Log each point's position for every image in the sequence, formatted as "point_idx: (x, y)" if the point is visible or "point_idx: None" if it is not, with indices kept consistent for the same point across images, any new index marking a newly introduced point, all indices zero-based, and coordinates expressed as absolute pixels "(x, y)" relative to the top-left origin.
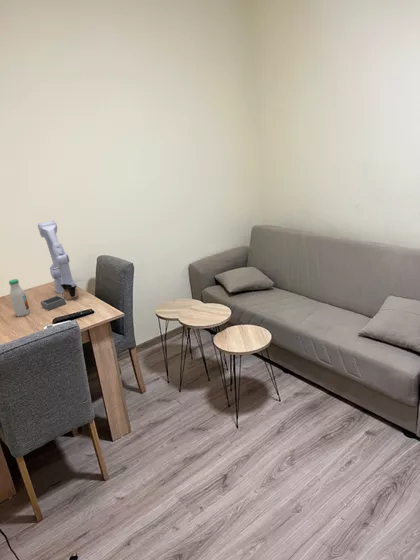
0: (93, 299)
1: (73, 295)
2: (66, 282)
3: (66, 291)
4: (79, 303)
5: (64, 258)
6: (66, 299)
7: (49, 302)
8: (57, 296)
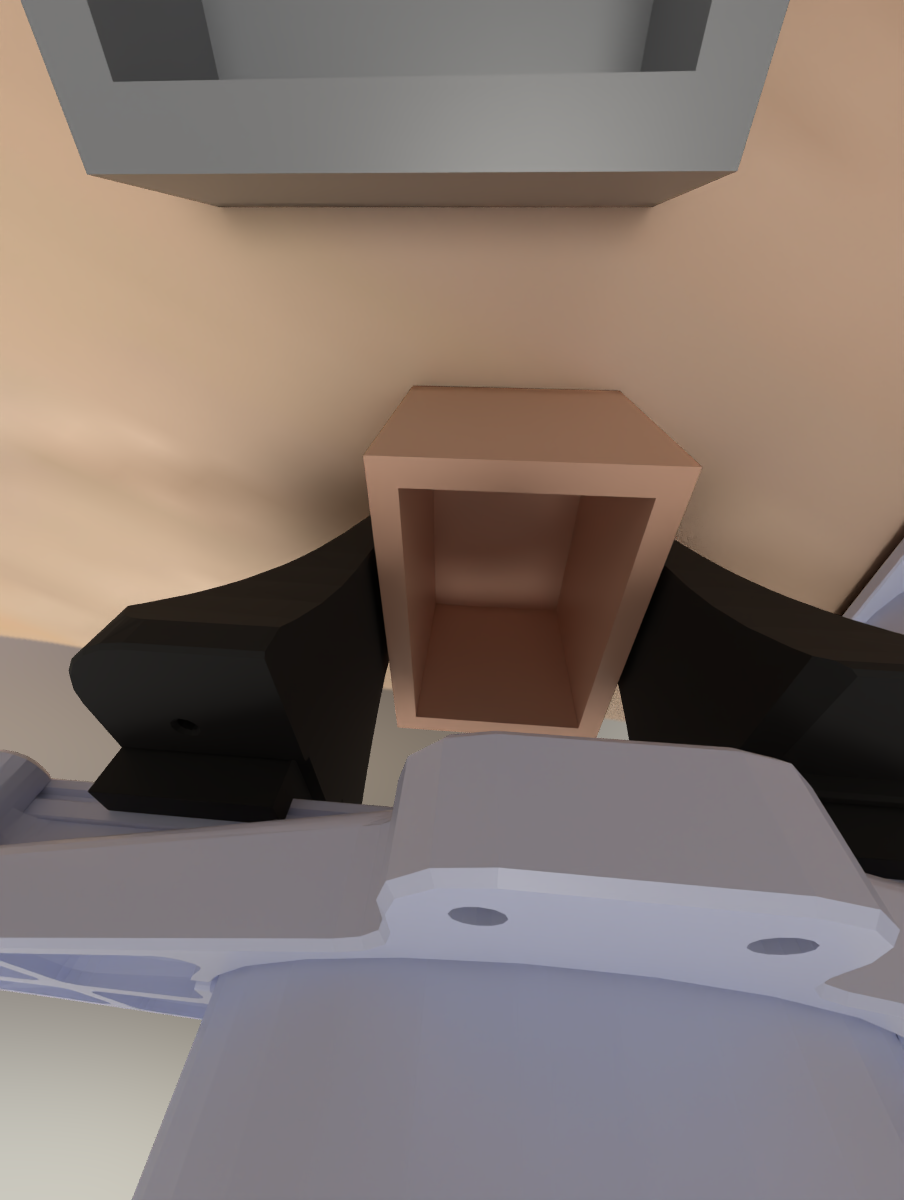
0: None
1: None
2: (214, 1016)
3: (612, 560)
4: (56, 443)
5: None
6: (485, 390)
7: None
8: (666, 80)
